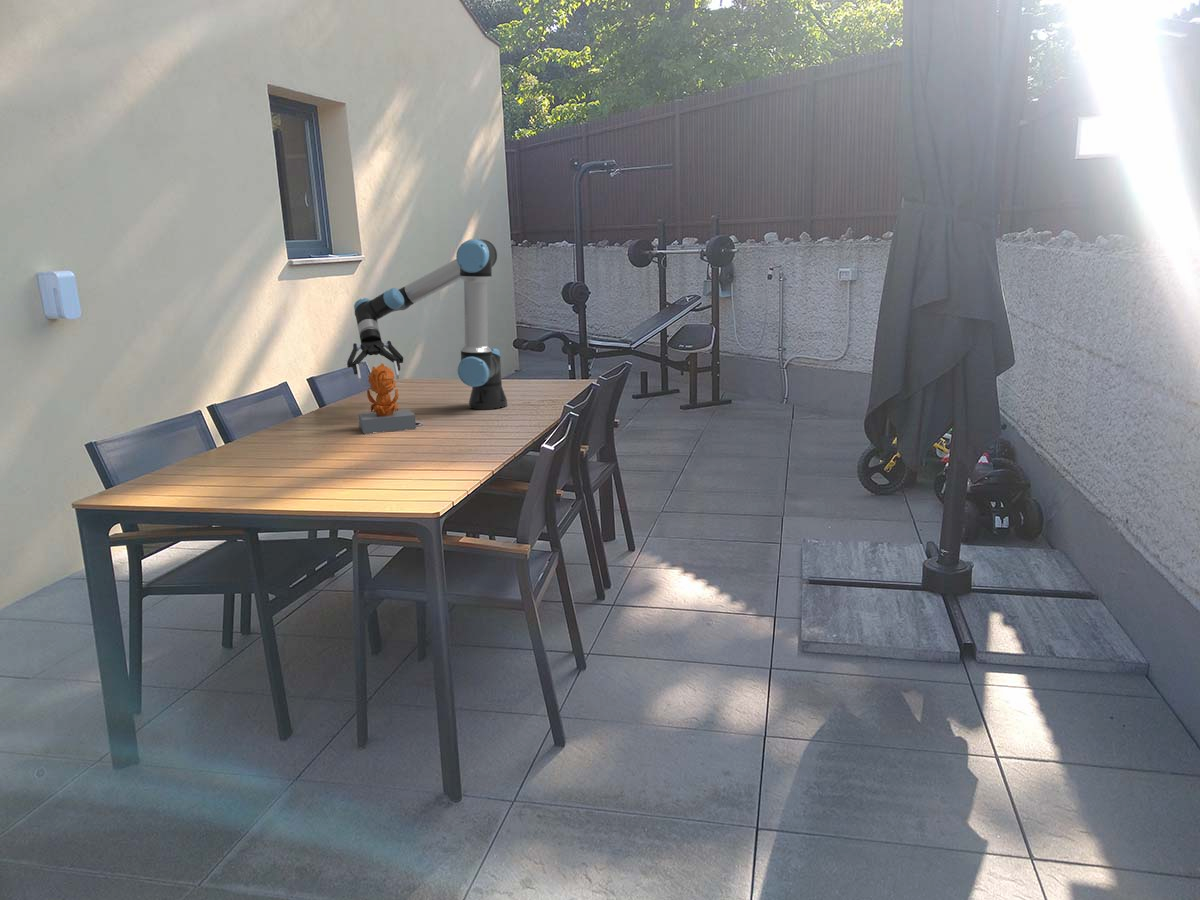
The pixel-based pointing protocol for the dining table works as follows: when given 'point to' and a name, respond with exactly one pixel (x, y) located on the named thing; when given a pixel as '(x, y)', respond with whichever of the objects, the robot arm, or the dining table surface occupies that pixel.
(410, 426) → the base brick
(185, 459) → the dining table surface
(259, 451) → the dining table surface
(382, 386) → the orange upright figure
